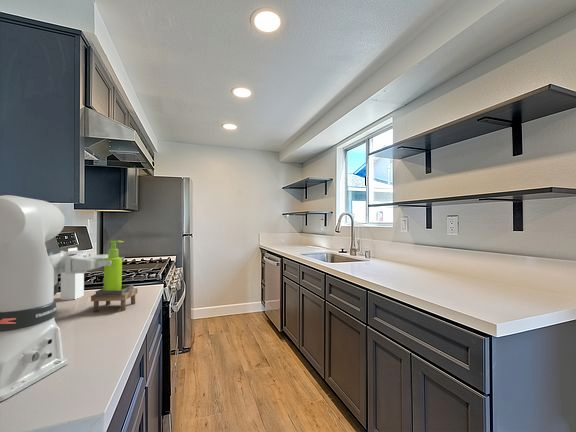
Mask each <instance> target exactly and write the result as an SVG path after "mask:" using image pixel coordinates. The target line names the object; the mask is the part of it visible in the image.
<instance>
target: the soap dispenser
mask: <svg viewBox="0 0 576 432" xmlns="http://www.w3.org/2000/svg"><path fill="white" fill-rule="evenodd" d="M108 243H110V248H109V249H107V250H108V253H107V254H108V258H106V259H104V261H107V260H112V261H113V264H112V265H110V266H103V268H104V269H103V288H104V291H120V290H121V288H122V285H123V284H122V282H123V281H122V280H123V279H122V278H123V275H122V273H123V262H122V258H120V256H119V249H118V248H117V243H119V244H123V243H125V241H123V240H119V239H118V240H109V241H108Z"/></svg>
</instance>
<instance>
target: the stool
mask: <svg viewBox="0 0 576 432" xmlns="http://www.w3.org/2000/svg"><path fill="white" fill-rule="evenodd" d="M137 294H138V288H137V287H136V288H134V284H122V288H121V290H120V291H104V287H103V288H101V289H98V290H96V291H95V294H93V295H90V302H93V312H94V311H95V312H94V313H97V312H99V309H100V308H99V306H100V305H99V304H100V302H105V306H110V305H111V303H112V302H113V301H114V302H115V301H116V302H117V301H120V312H125V311H126V305H127V304H126V300H128V299H130V304H131V305H135V304H136V295H137ZM96 311H97V312H96Z"/></svg>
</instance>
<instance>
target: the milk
mask: <svg viewBox="0 0 576 432" xmlns="http://www.w3.org/2000/svg"><path fill="white" fill-rule="evenodd" d="M74 250H78V247H70V248H68V249H67V252H68V251H74ZM84 290H85V273H76V274H66V273H61V274H60V300H61V301H72V300H73V299H75V300H77V298H78V299H80V298H83V297H84V296H85V291H84ZM82 296H83V297H82Z"/></svg>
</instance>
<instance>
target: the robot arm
mask: <svg viewBox="0 0 576 432" xmlns="http://www.w3.org/2000/svg"><path fill="white" fill-rule="evenodd" d="M65 223H66V218H65V215H64V213H63V212H62V211H61V210H60V208H59V207H57V206H56V205H55V204H52V203H51V202H49V201H46V200H41V199H35V198H30V197H23V196H18V195H11V194H8V195H7V194H5V195H0V402H3V401H5V400H8V398H11V397H12V396H14V395H16V394H18V393H19V392H21V391H23V390H24V389H26V388H28V387H30V386H31V385H33V384H35V383H37V382H38V381H40V380H42V379H43V378H45V377H47V376H49V375H51V374H52V373H54V372H56V371H57V370H60V369H61V368H62V367H64V366H66V365H68V358H67V357H65V356H64V355H63V354H64V353H63V345H62V336H61V335H62V334H61V329H60V327H59V325H58V324H57V322H56V320H55V316H56V315H57V309H58V307H57V301H56V300H55V296H56V295H57V293H58V292H59V282H58V277H59V274H60V275H61V273H66V274H76V273H84V274H86V273H87V272H89V271H92V270H94V269H98V268H103V267H104V266H110V265H112V264H113V261H112V260H107V261H104V259H106V258H108V253H107V254H106V253H105V254H95V255H93V254H92V253H90V252H89V250H87V249H85V250H78V249H77V250H74V251H68V250H67V251H65V250H60V249H58V248H56V247H48V248H47V246H46V242H49V241H50V240H52V239H53V238H55V237H57V236H58V235H60V233H61V232H63V230H64V228H65ZM119 257H120V256H119ZM120 258H122V263H124V262H125V257H122V256H121V257H120Z"/></svg>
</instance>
